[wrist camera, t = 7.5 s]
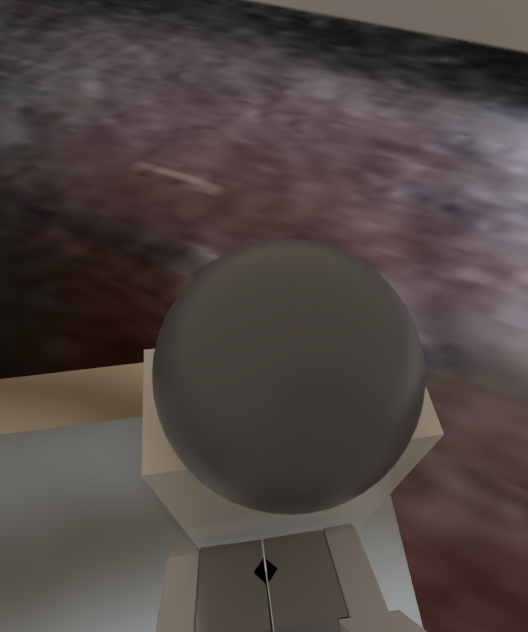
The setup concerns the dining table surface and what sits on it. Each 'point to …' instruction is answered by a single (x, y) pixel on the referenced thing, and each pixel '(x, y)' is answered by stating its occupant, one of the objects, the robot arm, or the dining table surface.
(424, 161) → the dining table surface
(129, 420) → the switch box
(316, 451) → the lever
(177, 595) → the robot arm
